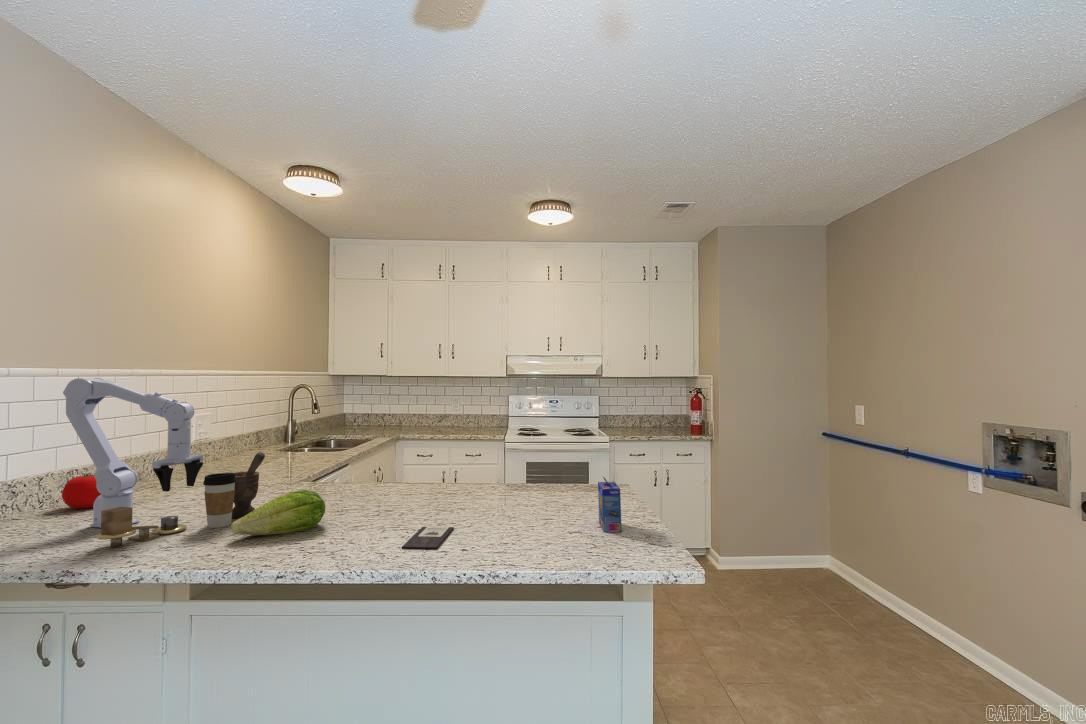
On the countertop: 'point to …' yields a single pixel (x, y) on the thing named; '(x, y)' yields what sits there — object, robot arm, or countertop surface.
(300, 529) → the lettuce
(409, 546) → the chocolate bar
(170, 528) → the balance
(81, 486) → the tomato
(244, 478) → the mortar and pestle
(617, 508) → the ink cartridge box
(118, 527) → the walnut block
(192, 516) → the countertop surface
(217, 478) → the coffee cup
